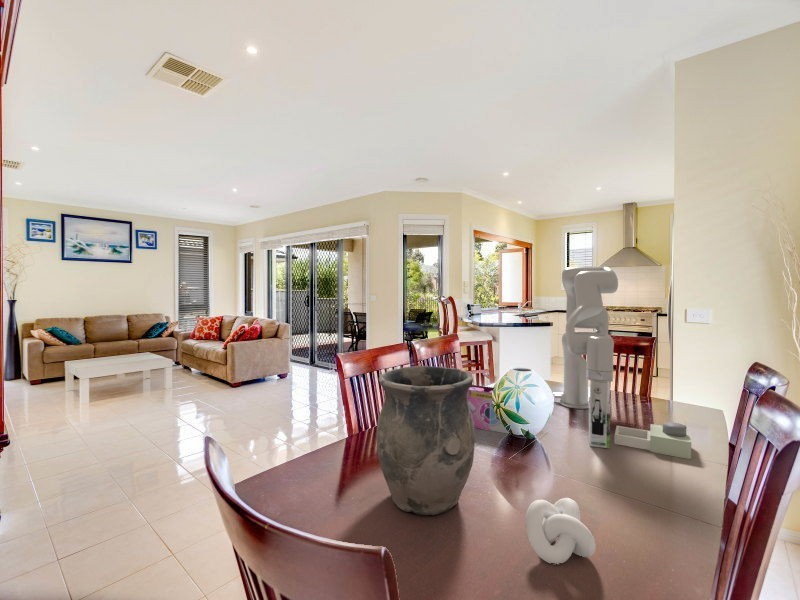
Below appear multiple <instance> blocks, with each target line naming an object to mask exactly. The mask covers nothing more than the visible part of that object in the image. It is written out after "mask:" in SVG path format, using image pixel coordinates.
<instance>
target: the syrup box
mask: <svg viewBox="0 0 800 600" xmlns="http://www.w3.org/2000/svg"><path fill="white" fill-rule="evenodd" d="M588 401H589V408H588V443H589V447H594V448H595V447H596V448H601V449H611V401H610V402H609V412H608V414H605V413H603V422H604V435H603V436H601V435H596V434H592V421H593V412H592V411H591V409H590V396H588ZM592 409H593V408H592ZM599 412H602V411H601V410H599ZM599 415H600V414H599ZM600 417H601V415H600Z"/></svg>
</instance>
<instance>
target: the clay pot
mask: <svg viewBox="0 0 800 600" xmlns="http://www.w3.org/2000/svg"><path fill="white" fill-rule="evenodd" d="M378 383H379V384H380V386H381V388H382V390H383V391H384V402H383V404H382V406H381V409H380V412H379V415H378V419H377V425H376V435H375V436H376V451H377V455H378V457H377V458H378V460H379V461H378V462H379V465H380V468H381V471H382V474H383V479H384V480H385V482H386V485H387V488H388V491H389V493H390V495H391V499H392V502H393V503H394V504H395V505H396V507H397V509H399V510H401V511H403V512H406V513H412V512H413V513H412V514H414V513H415V515H418V516H419V515H420V516H427V515H432V516H435V515H436V516H437V515H440V514H443V513H446V512H447V511H449V510H450V509H452V508H453V507H456V505H457V504H458V502H459V500H460V497H461V494H462V491H463V490H464V489H465V488H464V487H465V486H466V483H467V481H468V478H469V476H470V473H471V470H472V467H473V463H474V458H475V457H474V454H475V444H476V434H475V433H476V432H475V430H476V428H474V423H473V418H472V414H471V410H470V407H469V404H468V400H467V392H468V390H469V388H470V386H471V385H473V383H474V378H473V374H472V373H469V372H468V371H466V370H462V369H460V368H451V367H443V366H430V365H429V366H428V365H415V366H414V365H413V366H404V367H401V368H400V367H399V368H396V369H390V370H388V371H386V372H383V373H381V374H380V375H379V377H378Z"/></svg>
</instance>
